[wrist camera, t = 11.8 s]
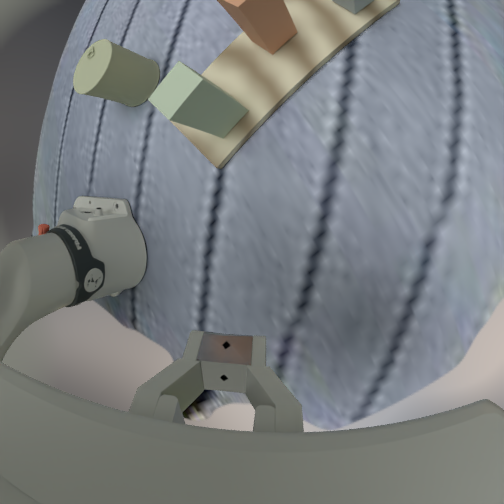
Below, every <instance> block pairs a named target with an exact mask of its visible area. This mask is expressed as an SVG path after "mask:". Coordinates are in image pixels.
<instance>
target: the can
mask: <svg viewBox="0 0 504 504" xmlns="http://www.w3.org/2000/svg"><path fill="white" fill-rule="evenodd" d="M159 77H160V70H159V67H158V65H157V63H156V62H155V61H153V60H150V59H147V58H145V57H143V56H140V55H138V54H136V53H134V52H132V51H130V50H128V49H125V48H123V47H121V46H119V45H117V44H115V43H112V42H110V41H109V40H106V39H102V40H99V41H97V42H95V43H94V44H92V45H91V46H90V47H89V48H88V49H87V50H86V51H85V53H84V54H83V55H82V57H81V59H80V60H79V62H78V64H77V67H76V70H75V73H74V79H73V85H74V89H75V91H76V92H77V93H79V94H85V95H90V96H95V97H99V98H103V99H108V100H111V101H115V102H119V103H122V104H125V105H127V106H131V107H133V106H138V105H140V104H142V103H144V102H145V101H146V100H147V99H148V98H149V97H150V96H151V95H152V94H153V92H154V90H155V89H156V87H157V84H158V81H159Z"/></svg>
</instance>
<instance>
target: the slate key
mask: <svg viewBox="0 0 504 504" xmlns="http://www.w3.org/2000/svg"><path fill="white" fill-rule="evenodd" d="M332 1H333V2H335V3H337V4H339V5H340V6H342V7H344V8H345V9H347V10H349V11H350V12H352V13H354V14H356V13H358V12H359V11H360V10H362V9H363V8H364V7H366V6H367V5H368V4H370V3H371V2H373V1H374V0H332Z"/></svg>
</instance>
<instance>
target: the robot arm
mask: <svg viewBox="0 0 504 504" xmlns="http://www.w3.org/2000/svg"><path fill="white" fill-rule="evenodd" d="M118 206H119V207H118ZM38 229H39V235H38V236H33V237H29V238H25V239H20V240H16V241H13V242H11V243H9V244H8V245H7V246H6V247H5V248H4V249H3V250H2V251H1V253H0V504H504V410H503V409H502V408H500V407H499V406H498V405H496V404H495V403H493V402H491V401H490V400H487V399H483V400H480V401H477V402H474V403H471V404H468V405H465V406H462V407H459V408H455V409H453V410H449V411H445V412H442V413H438V414H434V415H430V416H426V417H422V418H418V419H413V420H408V421H403V422H399V423H393V424H387V425H381V426H374V427H366V428H358V429H349V430H338V431H324V432H304V430H303V416H302V405H301V404H300V403H299V402H298V400H297V399H296V398H295V397H294V396H293V395H292V393H291V392H290V391H289V390H288V389H287V387H286V386H285V385H284V384H283V383H282V381H281V380H280V379H279V378H278V377H277V375H276V374H275V373H274V372H273V370H272V369H271V368H270V367H266V336H252V335H235V334H222V333H213V332H205V331H204V332H203V331H195V330H192V331H191V333H190V335H189V339H188V342H187V345H186V348H185V351H184V355H183V358H182V359H180V358H179V359H177V360H176V361H175V362H173V363H172V364H171V365H169V366H168V367H166V368H165V369H164V370H162V371H161V372H159V373H158V374H157V375H155V376H154V377H153V378H151V379H150V380H148V381H147V382H146V383H144V384H143V385H141V386H140V387H138V389H137V391H136V394H135V396H134V399H133V402H132V404H131V407H130V409H129V412H125V411H121V410H118V409H114V408H111V407H107V406H104V405H101V404H98V403H94V402H92V401H88V400H85V399H83V398H80V397H77V396H74V395H72V394H69V393H66V392H64V391H61V390H59V389H56V388H54V387H51V386H49V385H47V384H44V383H42V382H40V381H38V380H36V379H33V378H31V377H29V376H27V375H25V374H23V373H21V372H19V371H17V370H15V369H13V368H11V367H9V366H7V365H6V364H4V363H2V360H3V358H4V356H5V354H6V352H7V350H8V349H9V347H10V346H11V345H12V343H13V342H14V340H15V339H16V338H17V337H18V336H19V335H20V334H21V332H22V331H24V330H25V329H26V328H27V327H28V326H29V325H31V324H32V323H34V322H35V321H37V320H39V319H40V318H43V317H44V316H46V315H48V314H50V313H52V312H54V311H56V310H58V309H61V308H63V307H71V306H75V305H78V304H80V303H82V302H84V301H91V300H94V299H98V298H101V297H104V296H107V295H111V296H112V297H115V296H118V295H119V294H120V293H121V292H122V291H123V290H125V289H129V288H132V287H134V286H136V285H137V284H138V283H139V282H140V281H141V279H142V277H143V275H144V273H145V269H146V261H147V255H146V247H145V242H144V239H143V236H142V233H141V231H140V229H139V227H138V225H137V224H136V222H135V221H134V219H133V217H132V213H131V209H130V205H129V203H128V201H127V200H125V199H117V198H105V197H92V196H80V197H78V198H77V199H76V201H75V203H74V206H73V209H68V210H65V211H63V212H62V214H61V216H60V218H59V221H58V225H57V226H56V227H54V228H53V229H51V230H49V225H47V224H41V225H39V226H38ZM252 342H253V343H252ZM204 389H208V390H220V391H230V392H239V393H245V394H246V396H247V397H248V399H249V401H250V402H251V404H252V406H253V407H254V409H255V419H254V427H253V432H250V431H235V430H224V429H215V428H206V427H199V426H192V425H186V424H185V421H184V418H183V415H182V412H183V411H184V410H185V409H186V408H187V407H188V406H189V405H190V404H191V403H192V402H193V401H194V400H195V399H196V398H197V397H198V396H199V395H200V394H201V393H202V392H203V391H204Z"/></svg>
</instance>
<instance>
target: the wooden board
mask: <svg viewBox="0 0 504 504" xmlns="http://www.w3.org/2000/svg"><path fill="white" fill-rule="evenodd" d="M284 3H285V5H286V7H287V9H288V11H289V13H290V16H291V18H292V20H293V22H294V25H295V27H296V29H297V33H296V34H295V35H294V36H293V37H291V38H290V39H289V40H288V41H287V42H286V43H285V44H284V45H282V46H281V47H280V48H279V49H278V50H277V51H276V52H275V53H274V54H273V55H272V54H271V53H269V52H268V51H266V50H265V49H263V48H262V47H260V46H258V45H257V44H255V43H254V42H252V41H251V40H250V38H249V37H248V36H247V35H246V33H245V32H243V33H242V34H240V35H239V36H238V37H237V38H236V39H235V40H234V41H233V42H232V43H231V44H230V45H229V46H228V47H227V48H226V49H225V50H224V51H223V52H222V53H221V54H220V55H219V56H218V57H217V58H216V59H215V60H214V61H213V63H212V64H211V65H210V66H209V67H208V68H207V69H206V70H205V71H204V72H203V73H202V76H204V77H205V78H207V79H208V80H210V81H211V82H213V83H214V84H215V85H217V86H218V87H220V88H221V89H223V90H224V91H226V92H227V93H228V94H230V95H231V96H232V97H233V98H235V99H236V100H237V101H238V102H239V103H241V104H242V105H243V106H244V107H245V108H246V109H248V110H249V111H248V112H247V113H246V114H245V115H244V116H243V117H242V118H241V119H240V120H239V122H238V123H237V124H236V125H235V126H234V127H233V128H232V129H231V130H230V131H229V133H228V134H227V135H226V136H225V137H224V138H220V137H218V136H215V135H212V134H209V133H206V132H204V131H201V130H198V129H195V128H192V127H189V126H186V125H183V124H180V123H176V122H173V121H171V122H172V123H173V124H174V125H175V126H176V127H177V128H178V129H179V130H180V131H181V132H182V133H183V134H184V135H185V136H186V137H187V138H188V139H189V140H190V141H191V142H192V144H193V145H194V146H195V147H196V148H197V149H198V150H199V151H200V152H201V153H202V154H203V155H204V156H205V157H206V158H207V159H208V160H209V161H210V162H211V163H212V164H213V165H214V166H215V167H216V168H220V169H222V167H223V166H224V165H225V164H226V163H227V162H228V161H229V160H230V158H231V157H232V156H233V155H234V154H235V153H236V152H237V151H238V150H239V149H240V147H241V146H242V145H243V144H244V143H245V142H246V141H247V140H248V139H249V138H250V137H251V136H252V135H253V133H254V132H255V131H256V130H257V129H258V128H259V127H260V126H261V125H262V124H263V123H264V122H265V121H266V120H267V119H268V118H269V117H270V116H271V115H272V114H273V113H274V112H275V111H276V110H277V109H278V108H279V107H280V106H281V105H282V104H283V103H284V102H285V101H286V100H287V99H288V98H289V97H290V96H291V95H292V94H293V93H294V92H295V91H296V90H297V89H298V88H299V87H300V86H301V85H302V84H303V83H304V82H306V81H307V80H308V79H309V78H310V77H311V76H312V75H313V74H314V73H315V72H316V71H317V70H318V69H320V68H321V67H322V66H323V65H324V64H325V63H326V62H327V61H328V60H330V59H331V58H332V57H333V56H334V55H335V54H336V53H338V52H339V51H340V50H341V49H342V48H343V47H345V46H346V45H347V44H348V43H349V42H351V41H352V40H353V39H354V38H355V37H357V36H358V35H359V34H360V33H361V32H363V31H364V30H365V29H366V28H368V27H369V26H370V25H371V24H373V23H374V22H375V21H377V20H378V19H379V18H380V17H382V16H383V15H384V14H386V13H387V12H388V11H390V10H391V9H392V8H394V7H395V6H397V5H398V4H399V3H400V0H374V1H373V2H371V3H370V4H368V5H367V6H366V7H364V8H363V9H362V10H360V11H359V12H358V13H356V14H354V13H352V12H350V11H349V10H347V9H345V8H344V7H342V6H340V5H339V4H337V3H335V2H333V1H332V0H284Z"/></svg>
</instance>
